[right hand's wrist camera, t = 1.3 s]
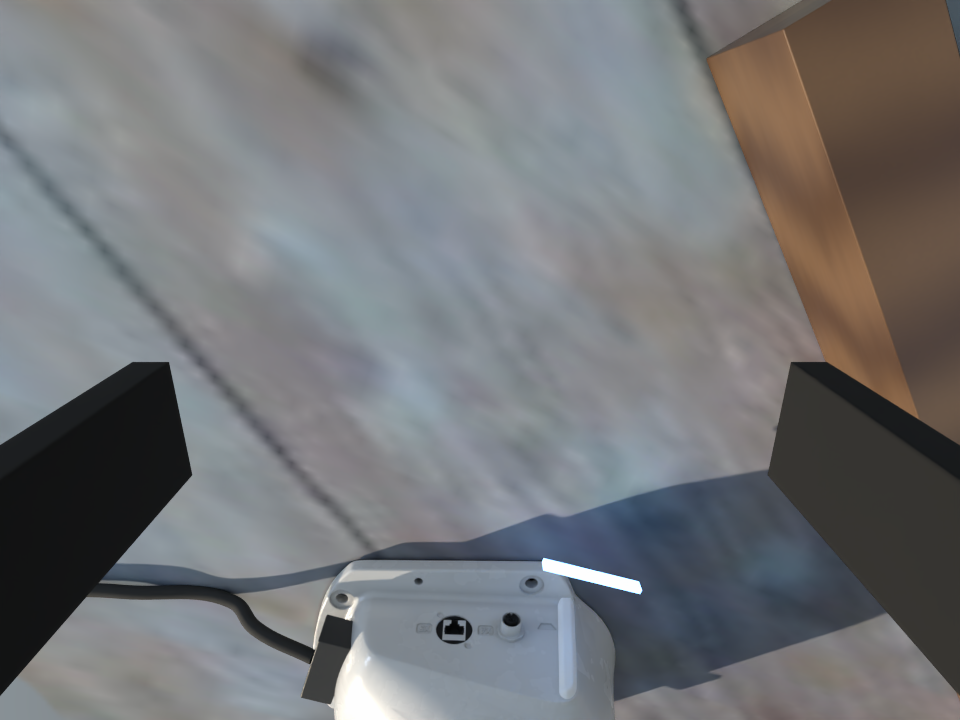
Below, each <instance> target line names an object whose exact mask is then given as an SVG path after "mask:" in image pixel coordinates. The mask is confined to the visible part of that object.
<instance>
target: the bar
mask: <svg viewBox="0 0 960 720" xmlns="http://www.w3.org/2000/svg"><path fill="white" fill-rule="evenodd" d="M707 62H708V65H709V67H710V70H711V72H712V75H713V77H714V80H715V82H716V85H717V87H718V90H719V93H720V95H721V98H722V100H723V103H724V105H725V108H726V110H727V113H728V115H729V118H730V120H731V123H732V125H733V128H734V130H735V133H736V136H737V138H738V141H739V143H740V146H741V148H742V151H743V153H744V156H745V158H746V161H747V163H748V166H749V168H750V171H751V173H752V176H753V179H754V181H755V184H756V186H757V189H758V191H759V194H760V196H761V199H762V201H763V204H764V206H765V209H766V211H767V214H768V217H769V219H770V222H771V224H772V227H773V229H774V232H775V234H776V237H777V239H778V242H779V244H780V247H781V249H782V252H783V254H784V257H785V260H786V262H787V265H788V267H789V270H790V272H791V275H792V277H793V280H794V282H795V285H796V287H797V290H798V292H799V295H800V298H801V300H802V303H803V305H804V308H805V310H806V313H807V315H808V318H809V320H810V323H811V325H812V328H813V330H814V333H815V335H816V338H817V341H818V343H819V346H820V348H821V351H822V353H823V356H824V358H825V361H826V362H828V363H830V364H831V365H833V366H834V367H836V368H838V369H839V370H841V371H842V372H844V373H846V374H847V375H849V376H850V377H852V378H854V379H855V380H857V381H858V382H860V383H861V384H863V385H865V386H866V387H868V388H869V389H871V390H873V391H874V392H876V393H877V394H879V395H881V396H882V397H884V398H885V399H887V400H889V401H890V402H892V403H893V404H895V405H897V406H898V407H900V408H901V409H903V410H905V411H906V412H908V413H909V414H911V415H912V416H914V417H916V418H917V419H919V420H920V421H922V422H924V423H925V424H927V425H928V426H930V427H932V428H933V429H935V430H936V431H938V432H940V433H941V434H943V435H944V436H946V437H948V438H949V439H951V440H952V441H954V442H956V443H957V444H959V445H960V54H959V50H958V46H957V43H956V39H955V35H954V31H953V27H952V23H951V19H950V15H949V11H948V7H947V3H946V0H802V1H800V2H799V3H797V4H795V5H794V6H792V7H791V8H789V9H787V10H786V11H784V12H782V13H781V14H779V15H777V16H776V17H774V18H772V19H771V20H769V21H767V22H766V23H764V24H762V25H761V26H759V27H757V28H756V29H754V30H753V31H751V32H749V33H748V34H746V35H744V36H743V37H741V38H739V39H738V40H736V41H734V42H733V43H731V44H729V45H728V46H726V47H724V48H723V49H721V50H719V51H718V52H716V53H714V54H713V55H711V56H710V57H708V58H707ZM957 695H958V697H959V700H960V695H959V694H958V693H957Z"/></svg>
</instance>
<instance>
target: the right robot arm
mask: <svg viewBox="0 0 960 720" xmlns="http://www.w3.org/2000/svg"><path fill="white" fill-rule="evenodd" d="M191 476H192V472H191V467H190V462H189V457H188V452H187V447H186V442H185V438H184V433H183V428H182V423H181V418H180V413H179V409H178V404H177V399H176V394H175V389H174V384H173V380H172V375H171V370H170V365H169V362H132V363H130V364H129V365H127V366H126V367H124V368H122V369H121V370H119V371H118V372H116V373H114V374H113V375H111V376H110V377H108V378H106V379H105V380H103V381H102V382H100V383H99V384H97V385H95V386H94V387H92V388H91V389H89V390H87V391H86V392H84V393H83V394H81V395H79V396H78V397H76V398H75V399H73V400H71V401H70V402H68V403H67V404H65V405H63V406H62V407H60V408H59V409H57V410H55V411H54V412H52V413H51V414H49V415H48V416H46V417H44V418H43V419H41V420H40V421H38V422H36V423H35V424H33V425H32V426H30V427H28V428H27V429H25V430H24V431H22V432H20V433H19V434H17V435H16V436H14V437H12V438H11V439H9V440H8V441H6V442H4V443H3V444H1V445H0V695H1V694H2V693H3V692H4V691H5V690H6V689H7V687H8V686H9V685H10V684H11V683H12V682H13V681H14V679H15V678H16V677H17V676H18V675H19V674H20V672H21V671H22V670H23V669H24V668H25V667H26V666H27V664H28V663H29V662H30V661H31V660H32V659H33V658H34V656H35V655H36V654H37V653H38V652H39V651H40V649H41V648H42V647H43V646H44V645H45V644H46V643H47V641H48V640H49V639H50V638H51V637H52V636H53V635H54V633H55V632H56V631H57V630H58V629H59V628H60V626H61V625H62V624H63V623H64V622H65V621H66V620H67V618H68V617H69V616H70V615H71V614H72V613H73V612H74V610H75V609H76V608H77V607H78V606H79V605H80V603H81V602H82V601H83V600H84V599H85V598H86V597H87V595H88V594H89V593H90V592H91V591H92V590H93V589H94V587H95V586H96V585H97V584H98V583H99V582H100V580H101V579H102V578H103V577H104V576H105V575H106V574H107V572H108V571H109V570H110V569H111V568H112V567H113V566H114V564H115V563H116V562H117V561H118V560H119V559H120V558H121V556H122V555H123V554H124V553H125V552H126V551H127V549H128V548H129V547H130V546H131V545H132V544H133V543H134V541H135V540H136V539H137V538H138V537H139V536H140V535H141V533H142V532H143V531H144V530H145V529H146V528H147V526H148V525H149V524H150V523H151V522H152V521H153V520H154V518H155V517H156V516H157V515H158V514H159V513H160V512H161V510H162V509H163V508H164V507H165V506H166V505H167V503H168V502H169V501H170V500H171V499H172V498H173V497H174V495H175V494H176V493H177V492H178V491H179V490H180V489H181V487H182V486H183V485H184V484H185V483H186V482H187V480H188V479H189V478H190V477H191ZM768 476H769V477H770V478H771V479H772V480H773V482H774V483H775V484H776V485H777V486H778V487H779V489H780V490H781V491H782V492H783V493H784V494H785V495H786V497H787V498H788V499H789V500H790V501H791V502H792V503H793V505H794V506H795V507H796V508H797V509H798V510H799V512H800V513H801V514H802V515H803V516H804V517H805V518H806V520H807V521H808V522H809V523H810V524H811V525H812V526H813V528H814V529H815V530H816V531H817V532H818V533H819V535H820V536H821V537H822V538H823V539H824V540H825V541H826V543H827V544H828V545H829V546H830V547H831V548H832V549H833V551H834V552H835V553H836V554H837V555H838V556H839V558H840V559H841V560H842V561H843V562H844V563H845V564H846V566H847V567H848V568H849V569H850V570H851V571H852V572H853V574H854V575H855V576H856V577H857V578H858V579H859V580H860V582H861V583H862V584H863V585H864V586H865V587H866V589H867V590H868V591H869V592H870V593H871V594H872V595H873V597H874V598H875V599H876V600H877V601H878V602H879V603H880V605H881V606H882V607H883V608H884V609H885V610H886V612H887V613H888V614H889V615H890V616H891V617H892V618H893V620H894V621H895V622H896V623H897V624H898V625H899V626H900V628H901V629H902V630H903V631H904V632H905V633H906V635H907V636H908V637H909V638H910V639H911V640H912V641H913V643H914V644H915V645H916V646H917V647H918V648H919V649H920V651H921V652H922V653H923V654H924V655H925V656H926V658H927V659H928V660H929V661H930V662H931V663H932V664H933V666H934V667H935V668H936V669H937V670H938V671H939V672H940V674H941V675H942V676H943V677H944V678H945V679H946V681H947V682H948V683H949V684H950V685H951V686H952V687H953V689H954V690H955V691H956V692H957V693H958V694H959V695H960V445H959V444H957V443H956V442H954V441H952V440H951V439H949V438H948V437H946V436H944V435H943V434H941V433H940V432H938V431H936V430H935V429H933V428H932V427H930V426H928V425H927V424H925V423H924V422H922V421H920V420H919V419H917V418H916V417H914V416H912V415H911V414H909V413H908V412H906V411H905V410H903V409H901V408H900V407H898V406H897V405H895V404H893V403H892V402H890V401H889V400H887V399H885V398H884V397H882V396H881V395H879V394H877V393H876V392H874V391H873V390H871V389H869V388H868V387H866V386H865V385H863V384H861V383H860V382H858V381H857V380H855V379H854V378H852V377H850V376H849V375H847V374H846V373H844V372H842V371H841V370H839V369H838V368H836V367H834V366H833V365H831V364H830V363H828V362H791V365H790V370H789V375H788V380H787V384H786V389H785V394H784V399H783V404H782V409H781V413H780V418H779V423H778V428H777V433H776V438H775V442H774V447H773V452H772V457H771V462H770V467H769V472H768Z"/></svg>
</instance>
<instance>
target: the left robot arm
mask: <svg viewBox="0 0 960 720" xmlns="http://www.w3.org/2000/svg"><path fill="white" fill-rule="evenodd" d="M568 577H572V578H577V579H581V580H585V581H589V582H593V583H597V584H601V585H605V586H609V587H613V588H618V589H622V590H626V591H630V592H634V593H638V594H640V593H641V591H642V589H641V586H640V583H639V581H635V580H630V579H626V578H622V577H618V576H614V575H610V574H606V573H602V572H598V571H594V570H590V569H586V568H582V567H578V566H574V565H570V564H565V563H561V562H557V561H553V560H549V559H545V558H543V561H446V560H357V561H353V562H351V563H350V564H349V565H348V566H346V567H345V568H344V569H343V570H342V571H341V572H340V573H339V574H338V575H337V577H336V578H335V579H334V580H333V582H332V584H331V585H330V587H329V589H328V590H327V593H326V595H325V597H324V600H323V602H322V606H321V609H320V612H319V616H318V621H317V626H316V631H315V637H314V645H313V649H312V648H310V647H308V646H306V645H304V644H301V643H299V642H297V641H294V640H292V639H290V638H287V637H285V636H283V635H281V634H279V633H277V632H275V631H273V630H271V629H270V628H268V627H266V626H265V625H264V624H262V623H261V622H260V621H258V620H257V619H256V617H255V616H254V614H253V613H252V611H251V609H250V607H249V606H248V604H247V603H246V602H245V601H244V600H243V599H241V598H240V597H238V596H236V595H233V594H231V593H228V592H226V591H222V590H219V589H215V588H210V587H203V586H189V585H169V586H132V585H118V584H102V583H98V584H97V585H96V586H95V587H94V589H93V590H92V591H91V592H90V593H89V594H88V595H87V597H104V598H118V599H139V600H152V599H195V600H204V601H209V602H214V603H217V604H221V605H223V606H226V607H228V608H230V609H231V610H233V611H234V612H235V614H236V615H237V617H238V619H239V621H240V622H241V624H242V626H243V627H244V628H245V629H246V631H247V632H249V633H250V634H251V635H252V636H254V637H255V638H257V639H258V640H260V641H261V642H263V643H265V644H267V645H268V646H270V647H272V648H275V649H277V650H279V651H281V652H283V653H286V654H288V655H290V656H293V657H295V658H297V659H300V660H302V661H304V662H306V663H308V664H311V665H310V668H309V671H308V674H307V677H306V680H305V684H304V687H303V690H302V693H301V698H305V699H309V700H313V701H317V702H322V703H326V704H328V705H329V706H330V707H331V708H333V709H334V715H335V720H615V711H614V683H613V681H614V667H615V647H614V643H613V639H612V636H611V634H610V632H609V630H608V628H607V626H606V625H605V623H604V622H603V621H602V619H601V618H600V617H599V616H598V615H597V614H596V613H595V612H594V611H593V610H592V609H591V608H590V607H589V606H587V605H586V604H585V603H584V602H583V601H582V600H581V599H580V598H579V597H578V596H577V595H576V594H575V593H574V590H573V588H572V585H571V583H570V581H569V578H568ZM530 578H533V579H535V580H532V581H528V579H530ZM341 594H345V595H346V596H343V595H341Z"/></svg>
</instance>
